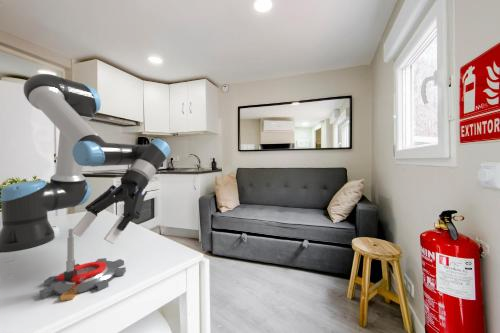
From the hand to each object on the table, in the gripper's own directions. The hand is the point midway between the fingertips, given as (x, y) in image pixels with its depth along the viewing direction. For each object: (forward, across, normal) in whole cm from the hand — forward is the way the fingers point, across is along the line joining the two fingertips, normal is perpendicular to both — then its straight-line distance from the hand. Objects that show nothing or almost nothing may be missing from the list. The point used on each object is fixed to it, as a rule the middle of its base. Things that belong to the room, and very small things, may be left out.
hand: (91, 237), depth 55 cm
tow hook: (+7, +1, -6) cm, 10 cm away
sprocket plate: (+8, 0, -7) cm, 11 cm away
